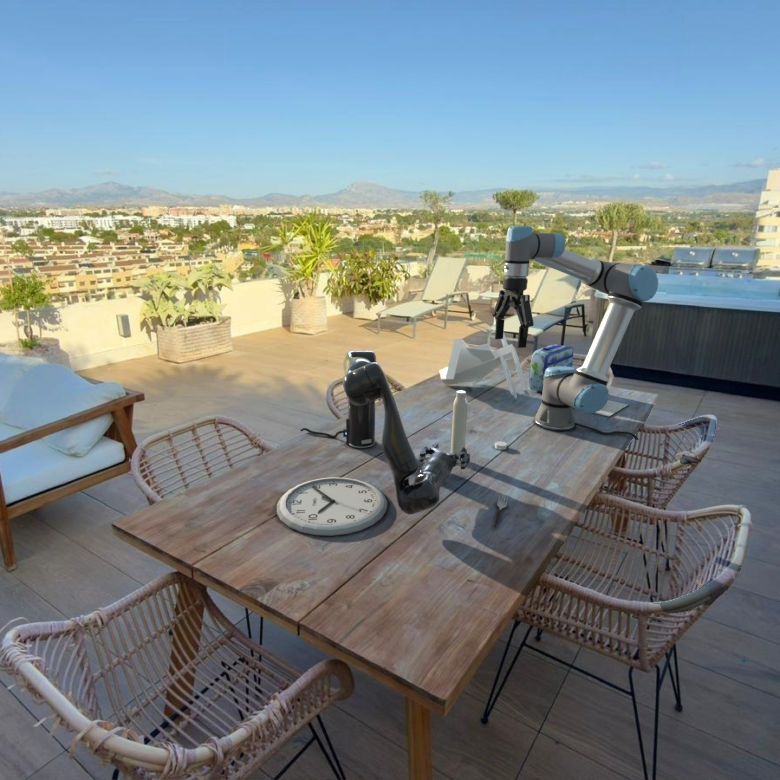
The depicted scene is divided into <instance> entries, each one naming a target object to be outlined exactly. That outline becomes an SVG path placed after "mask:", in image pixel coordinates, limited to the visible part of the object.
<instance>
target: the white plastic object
mask: <svg viewBox="0 0 780 780" xmlns="http://www.w3.org/2000/svg"><path fill="white" fill-rule="evenodd" d="M493 319H494V321H495V322H496V319H495V317H493ZM500 342H501V345H502V347H500V348H498V349H496V350H495V349H493V348H492V347H491V346H490V344H489V343H488V342H487V343H483V344H479V345H473V346H469V345H468V343H466V342H465V340H464V339H463V338H460V339H458V338H454V340H453V344H452V349H451V353H450V357H449V362H448V366H446V367H444V368H442V369H440V370H439V371H438V372H439V376H440V381H442V383H443V384H444V385H445V386H449V385H458V384H467V383H468V384H469V383H473V384H477V383H480V382H482V381H484V378H485V377H486V376H487V375H489V374H490V373H492V372H494V371H495V370H496V369H497V368H499V367H500V366H502V370H503V373H504V376H505V380H506V383H507V386H508V390H509V393H510V394H511V395H512V397H513V398H514V399H515V400H517V392H516V391H517V390H516V388H515V385H514V381H513V378H512V375H511V371H510V369H509V365H508V361H510V360H513V363H514V366H515V369H516V372H517V376H518V380H519V382H520V385H521V389H522V391H523V393H524V395H525V396H526V397H528V396H531V395H530V389H529V388H528V387H529V386H528V384H527V381H526V378H525V375H524V371H523V369H522V368H523V367H522V366H521V362H520V359H519V355H518V352H517V349H516V347H515V346H514V345H513V343H511V344H508V341H507V337H506V334H505V331H504V332H503V339H500Z"/></svg>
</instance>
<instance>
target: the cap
mask: <svg viewBox="0 0 780 780" xmlns="http://www.w3.org/2000/svg"><path fill="white" fill-rule="evenodd" d="M507 446H508V443H507V442H505V441H495V442H494V449H496V450H499V451H504V450H507Z"/></svg>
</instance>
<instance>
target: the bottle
mask: <svg viewBox="0 0 780 780" xmlns="http://www.w3.org/2000/svg"><path fill="white" fill-rule="evenodd" d="M455 395H456V396H455V399H454V401H453V402H452V403H453V405H452V419H451V420H452V421H451V438H450V439H451V440H450V453H453V452H457V453H459V452H461V450H462V448H463V447H464V448H465V449H466V437H467V436H466V435H467V422H468V421H467V419H468V405H469V404H468V401H467V398H466V396H467V392H466V391H465V390H462V389H461V390H459V389H458V390H456V393H455ZM459 458H460V456H459Z"/></svg>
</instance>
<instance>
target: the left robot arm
mask: <svg viewBox="0 0 780 780" xmlns="http://www.w3.org/2000/svg"><path fill="white" fill-rule="evenodd" d="M343 371H344V375H343V378H342V385H343V390H344V393H345V395H346V397H347V402H348V409H347V410H348V411H347V412H348V413H347V415H348V417H347V418H346V419H345V428H343V429H342V430H339V431H337V432H336V433H335V434H333V435H332V434H329V433H327V432H321V431H313V430H311V429H309V428H307V427H302V428H301V429H300V432H303V431H306V432H308V433H310V434H313V435H322V436H326V437H328V438H332V439H333V438H334V439H335V438H337V437H338V436H339V434H342V437H343V438H345V443H346V445H347V446H349V447H351V448H354V449H369V448H372V447H373V446H375V444H376V401H377V400H379V399H381V401H382V404H383V409H384V422H383V430H382V437H381V448H382V452H383V455H384V458H385V460H386V462H387V465H388V467H389V469H390V471H391V475H392V478H393V482H394V488H395V496H396V502H397V505H398V507H399V509H400V510H401V511H402V512H403V513H404V514H405V515H408V516H409V515H410V516H411V515H415V514H418V513H421V512H424V511H427V510H430V509H432V508H434V507H435V506H437V504H438V503H439V502H440V490H441V487H442V486H443V485H444V484H445V483H446V481H447V480H448V478H449V476H450V474H451V472H452V471H453V469H454V468H455V467H456V466H457V467H460V469H461V470H465V469H466V468H467V467H468V465H469V464H470V461H471V460H470V458H471V454H470V453H468V449H467V448H466V447H465V448H464V447H463V448H462V450H461V452H459V453H457V452H453V453H451V452H443V451H439V443H438V442H436V443H433V444H432V446H430V447H428V446H423V447H422V449H421V450H420V452H419V462H420V463H423V462H424V461H425V462H424V463H423V465H422V466H421V468H420V465H419V462H418V460H417V458H416V455H415V453H414V451H413V449H412V446H411V445H410V442H409V440H408V437H407V434H406V431H405V429H404V426H403V422H402V418H401V416H400V412H399V409H398V407H397V404H396V403H397V402H396V400H395V397H394V394H393V391H392V388H391V385H390V383H389V381H388V379H387V375H386V374H385V371H384V370H383V368H382V366H381V365H380V364H379V363H377V355H376V353H375V351H372V350H350V351H348V352H346V354H345V355H344V358H343ZM459 456H460V458H459ZM419 468H420V469H419ZM417 472H418V473H417ZM415 473H417V474H416V476H415V478H414V481H413V482H414V483H413V484H410V477H411V476H412V475H414V474H415Z"/></svg>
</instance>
